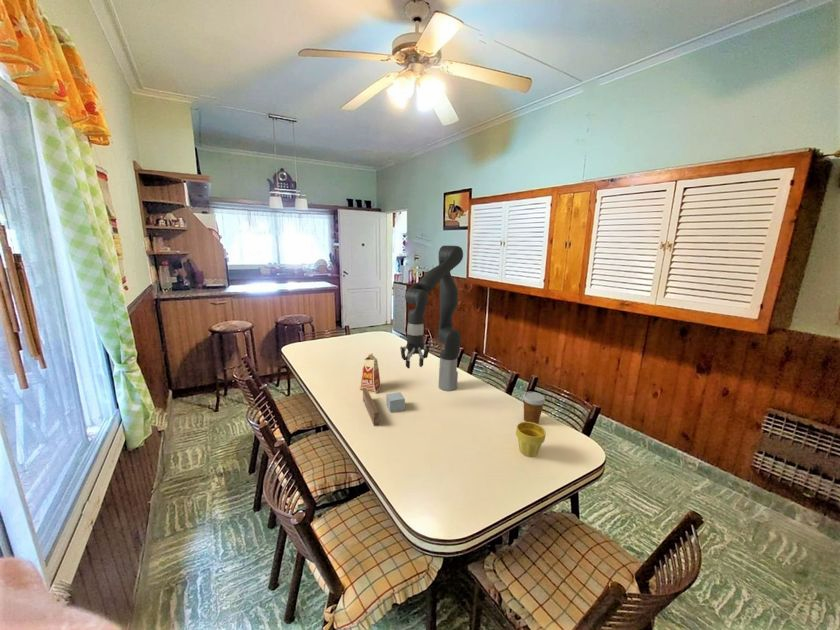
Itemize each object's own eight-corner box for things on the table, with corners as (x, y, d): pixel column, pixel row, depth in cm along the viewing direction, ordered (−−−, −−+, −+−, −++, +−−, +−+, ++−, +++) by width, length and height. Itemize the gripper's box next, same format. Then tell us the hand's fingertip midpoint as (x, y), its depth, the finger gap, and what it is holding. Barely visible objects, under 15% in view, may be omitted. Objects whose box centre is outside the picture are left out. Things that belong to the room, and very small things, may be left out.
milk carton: (375, 393, 166) (375, 356, 162) (358, 391, 168) (358, 355, 163) (381, 386, 175) (381, 351, 170) (365, 384, 177) (364, 349, 172)
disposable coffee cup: (515, 417, 148) (518, 393, 145) (532, 413, 152) (534, 389, 149) (530, 428, 140) (533, 402, 137) (547, 424, 143) (550, 399, 141)
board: (366, 399, 160) (366, 388, 159) (378, 425, 138) (378, 412, 137) (362, 399, 159) (362, 388, 158) (373, 425, 137) (373, 413, 136)
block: (400, 403, 157) (400, 392, 156) (404, 410, 151) (404, 398, 150) (386, 405, 155) (386, 394, 154) (390, 412, 149) (390, 400, 147)
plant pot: (527, 463, 117) (529, 439, 115) (508, 446, 126) (511, 424, 124) (548, 456, 121) (552, 433, 119) (529, 441, 130) (532, 419, 128)
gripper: (427, 329, 154) (425, 362, 158) (397, 331, 149) (397, 365, 153) (433, 333, 147) (431, 368, 151) (402, 335, 142) (402, 371, 146)
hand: (414, 367), depth 152 cm, fingers open, 5 cm apart
